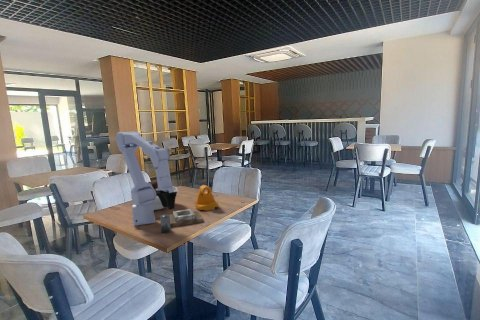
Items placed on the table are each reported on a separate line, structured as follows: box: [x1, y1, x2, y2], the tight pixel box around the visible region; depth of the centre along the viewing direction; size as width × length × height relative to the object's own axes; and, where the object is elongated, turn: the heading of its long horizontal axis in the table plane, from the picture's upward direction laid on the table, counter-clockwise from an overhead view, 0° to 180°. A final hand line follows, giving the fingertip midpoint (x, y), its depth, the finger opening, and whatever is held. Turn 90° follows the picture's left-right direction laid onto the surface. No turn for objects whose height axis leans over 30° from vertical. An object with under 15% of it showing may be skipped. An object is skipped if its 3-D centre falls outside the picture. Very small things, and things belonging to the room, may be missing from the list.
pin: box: [159, 213, 172, 234], centre depth 111 cm, size 4×4×7 cm
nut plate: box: [169, 208, 204, 228], centre depth 123 cm, size 16×12×4 cm
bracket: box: [194, 184, 219, 211], centre depth 139 cm, size 11×7×12 cm, turn 119°
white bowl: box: [129, 180, 179, 211], centre depth 143 cm, size 25×25×15 cm
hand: (168, 208), depth 111 cm, fingers open, 7 cm apart
